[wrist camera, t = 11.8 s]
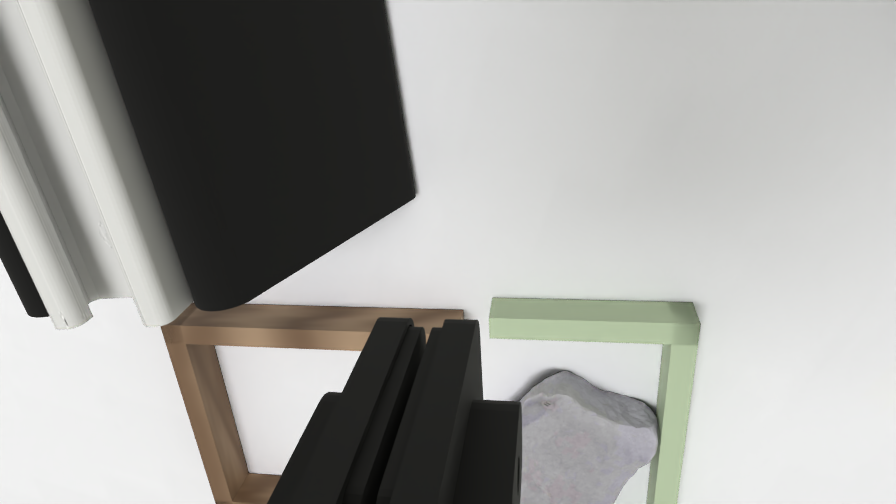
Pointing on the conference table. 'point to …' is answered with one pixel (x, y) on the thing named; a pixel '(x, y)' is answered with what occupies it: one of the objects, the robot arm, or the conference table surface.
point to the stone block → (581, 441)
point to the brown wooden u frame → (258, 327)
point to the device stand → (189, 147)
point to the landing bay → (623, 325)
